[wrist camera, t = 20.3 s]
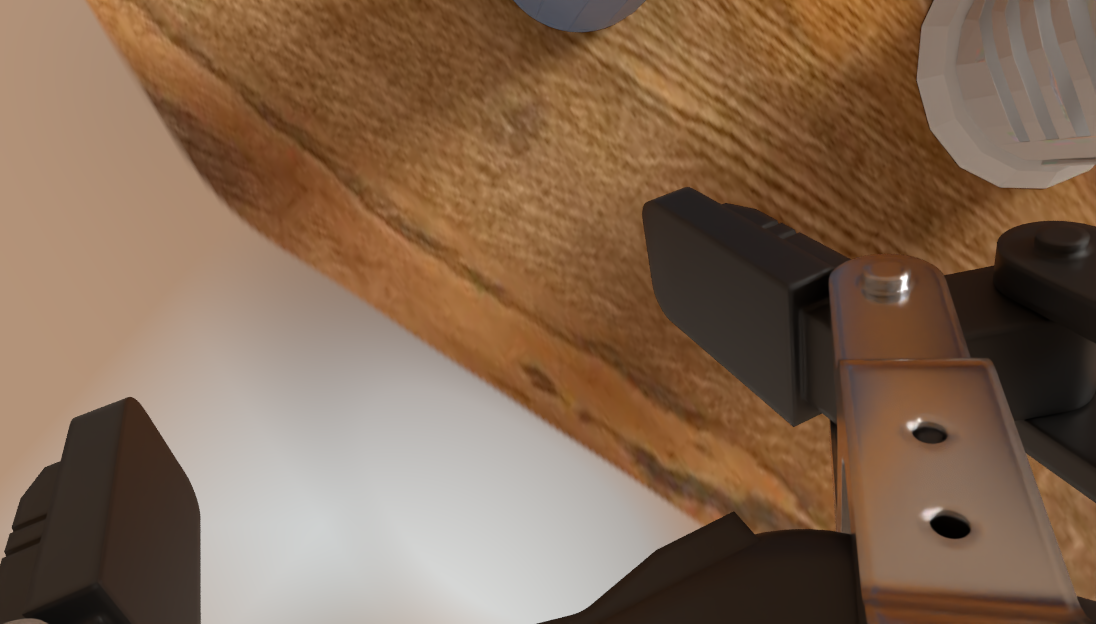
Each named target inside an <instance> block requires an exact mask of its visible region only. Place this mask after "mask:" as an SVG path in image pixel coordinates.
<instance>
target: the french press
mask: <svg viewBox="0 0 1096 624" xmlns="http://www.w3.org/2000/svg"><path fill="white" fill-rule="evenodd" d="M917 83H918V87H919V91H920V94H921V98H922V101H923V105H924V109H925V112H926V116H927V120H928V123H929V127H930V130H931V131H932V132H933V134H934V135H935V136H936V137H937V139H938V140H939V141H940V143H941V144H942V145H943V146H944V148H945V149H946V150H947V151H948V153H949V154H950V155H951V157H952V158H953V159H954V160H955V162H956V163H957V164H958V165H959V167H961V168H963V169H965V170H967V171H969V172H971V173H973V174H975V175H977V176H979V177H981V178H982V179H984V180H986V181H988V182H990V183H992V184H994V185H996V186H998V187H1002V188H1044V189H1046V188H1048V187H1050V186H1053V185H1055V184H1058V183H1060V182H1062V181H1065V180H1067V179H1070V178H1072V177H1075V176H1077V175H1079V174H1082V173H1084V172H1087V171H1089V170H1090V169H1091V168H1092V167H1093V166H1094V165H1096V0H934V1H933V3H932V5H931V8H930V10H929V12H928V14H927V16H926V18H925V20H924V22H923V25H922V28H921V39H920V49H919V60H918V71H917Z"/></svg>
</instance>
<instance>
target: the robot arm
mask: <svg viewBox="0 0 1096 624" xmlns="http://www.w3.org/2000/svg"><path fill="white" fill-rule="evenodd" d="M642 218H643V225H644V232H645V239H646V245H647V252H648V258H649V265H650V272H651V278H652V285H653V289H654V293H655V296H656V299H657V301H658V303H659V305H660V307H661V309H662V311H663V312H664V314H665V315H666V316H667V318H668V319H669V320H670V321H671V322H672V323H674V324H675V325H676V326H677V327H678V328H679V329H681V330H682V331H683V332H684V333H685V334H686V335H688V336H689V337H690V338H691V339H692V340H693V341H695V342H696V343H697V344H698V345H699V346H700V347H702V348H703V349H704V350H705V351H706V352H707V353H708V354H710V355H711V356H712V357H713V358H714V359H715V360H717V361H718V362H719V363H720V364H721V365H722V366H724V367H725V368H726V369H727V370H728V371H729V372H731V373H732V374H733V375H734V376H735V377H736V378H737V379H739V380H740V381H741V382H742V383H743V384H744V385H746V386H747V387H748V388H749V389H750V390H751V391H753V392H754V393H755V394H756V395H757V396H758V397H760V398H761V399H762V400H763V401H764V402H765V403H766V404H768V405H769V406H770V407H771V408H772V409H773V410H775V411H776V412H777V413H778V414H779V415H780V416H782V417H783V418H784V419H785V420H786V421H787V422H789V423H790V424H791V425H792V426H793V427H795V426H797V425H799V424H801V423H803V422H805V421H807V420H809V419H811V418H813V417H815V416H817V415H820V414H822V413H823V414H824V415H825V416H826V417H828V418H829V427H830V451H831V465H832V480H833V494H834V508H835V523H836V532H835V531H828V530H813V529H792V530H779V531H771V532H764V533H759V534H754V533H753V532H752V531H751V530H750V529H749V528H748V526H747V525H746V524H745V523H744V522H743V521H742V520H741V519H740V518H739V516H738V515H737V514H736V513H735V512H732V513H730V514H728V515H726V516H724V517H722V518H720V519H718V520H716V521H714V522H712V523H710V524H708V525H706V526H704V527H702V528H700V529H698V530H696V531H694V532H692V533H690V534H688V535H686V536H684V537H682V538H680V539H678V540H676V541H674V542H672V543H670V544H668V545H666V546H664V547H662V548H660V549H658V550H656V551H655V552H654V553H652V554H651V555H650V556H649V557H648V558H646V559H645V560H644V561H643V562H642V563H640V564H639V565H638V566H637V567H636V568H634V569H633V570H632V571H631V572H630V573H629V574H627V575H626V576H625V577H624V578H623V579H621V580H620V581H619V582H618V583H617V584H616V585H614V586H613V587H612V588H611V589H610V590H608V591H607V592H606V593H605V594H604V595H603V596H601V597H600V598H599V599H598V600H596V601H595V602H594V603H593V604H592V605H591V606H589V607H588V608H586V609H585V610H583V611H581V612H579V613H576V614H573V615H570V616H566V617H562V618H558V619H554V620H550V621H546V622H542V623H538V624H1096V601H1093V600H1089V599H1085V598H1082V597H1078V596H1076V593H1075V590H1074V588H1073V585H1072V582H1071V579H1070V576H1069V574H1068V571H1067V568H1066V565H1065V562H1064V560H1063V557H1062V554H1061V551H1060V548H1059V546H1058V543H1057V540H1056V537H1055V534H1054V532H1053V529H1052V526H1051V523H1050V520H1049V518H1048V515H1047V512H1046V509H1045V506H1044V503H1043V501H1042V498H1041V495H1040V492H1039V489H1038V487H1037V484H1036V481H1035V478H1034V475H1033V473H1032V470H1031V467H1030V464H1029V461H1028V459H1027V456H1026V453H1027V454H1028V455H1029V456H1031V457H1032V458H1034V459H1035V460H1036V461H1038V462H1039V463H1041V464H1042V465H1043V466H1045V467H1046V468H1048V469H1049V470H1050V471H1052V472H1053V473H1055V474H1056V475H1057V476H1059V477H1060V478H1062V479H1063V480H1064V481H1066V482H1067V483H1069V484H1070V485H1071V486H1073V487H1074V488H1076V489H1077V490H1078V491H1080V492H1081V493H1083V494H1084V495H1085V496H1087V497H1088V498H1089V499H1091V500H1092V501H1094V502H1095V503H1096V227H1095V226H1091V225H1087V224H1082V223H1076V222H1066V221H1041V222H1033V223H1028V224H1023V225H1020V226H1016V227H1014V228H1012V229H1009V230H1008V231H1006V232H1005V233H1003V234H1002V235H1001V236H1000V237H999V239H998V242H997V248H996V256H995V264H994V266H990V267H985V268H980V269H974V270H969V271H964V272H959V273H954V274H949V275H943V273H942V272H941V271H940V270H939V269H938V268H937V267H935V266H934V265H932V264H930V263H929V262H927V261H924V260H921V259H919V258H915V257H911V256H906V255H899V254H874V255H867V256H861V257H858V258H854V259H849V258H847V257H845V256H843V255H842V254H840V253H838V252H836V251H834V250H832V249H830V248H828V247H826V246H825V245H823V244H821V243H819V242H817V241H815V240H813V239H811V238H809V237H808V236H806V235H804V234H802V233H800V232H799V233H796V232H795V230H794V229H792V228H791V227H789V226H787V225H785V224H783V223H780V224H778V222H777V220H775V219H773V218H772V217H770V216H768V215H766V214H764V213H762V212H760V211H758V210H756V209H753V208H748V207H743V206H738V205H733V204H728V203H725V204H722V205H721V204H720V203H718V202H716V201H714V200H712V199H711V198H709V197H707V196H705V195H703V194H702V193H700V192H698V191H696V190H694V189H693V188H690V187H685V188H682V189H680V190H677V191H674V192H672V193H669V194H666V195H664V196H661V197H658V198H656V199H653V200H651V201H648V202H646V203H645V204H644V206H643V211H642ZM12 529H13V533H10V535H9V538H8V541H7V545H6V548H5V551H4V552H5V554H6V557H4V558H2V561H1V564H0V624H201V623H200V622H201V621H200V620H201V616H200V615H201V613H200V511H199V505H198V502H197V498H196V496H195V492H194V490H193V487H192V485H191V483H190V481H189V479H188V477H187V475H186V474H185V472H184V471H183V469H182V467H181V466H180V464H179V463H178V461H177V460H176V458H175V457H174V455H173V453H172V452H171V450H170V449H169V447H168V446H167V444H166V442H165V441H164V439H163V438H162V436H161V435H160V433H159V431H158V430H157V428H156V427H155V425H154V424H153V422H152V420H151V419H150V417H149V416H148V414H147V413H146V412H145V410H144V408H143V407H142V406H141V404H140V403H139V402H138V401H137V400H136V399H134V398H132V397H128V398H125V399H122V400H120V401H117V402H115V403H112V404H109V405H107V406H104V407H101V408H99V409H96V410H93V411H91V412H88V413H86V414H83V415H80V416H78V417H75V418H73V419H72V421H71V423H70V426H69V430H68V434H67V438H66V442H65V446H64V450H63V454H62V458H61V461H60V462H57V463H55V464H52V465H50V466H47V467H45V468H44V469H43V470H42V472H41V473H40V474H39V475H38V477H37V478H36V479H35V481H34V482H33V483H32V485H31V486H30V487H29V489H28V490H27V491H26V492H25V494H24V495H23V496H22V498H21V499H20V502H19V506H18V509H17V512H16V515H15V519H14V522H13V525H12Z"/></svg>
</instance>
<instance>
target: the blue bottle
mask: <svg viewBox="0 0 1096 624" xmlns="http://www.w3.org/2000/svg"><path fill="white" fill-rule="evenodd" d="M513 1H514V2H515V3H516V4H517V5H518V6H519V7H520V8H521V9H522V10H523V11H525V12H526V13H527V14H528V15H529V16H531V17H532V18H534V19H536V20H537V21H539V22H541V23H543V24H545V25H547V26H549V27H552V28H555V29H559V30H563V31H569V32H589V31H596V30H600V29H603V28H606V27H609V26H611V25H613V24H616V23H617V22H619V21H621V20H622V19H624V18H625V17H627V16H628V15H630V14H632V13H633V12H635V11H636V10H637V9H638V8H639V7H640V6H641V5H642V4H643V3H644V2H645V1H646V0H513Z"/></svg>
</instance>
